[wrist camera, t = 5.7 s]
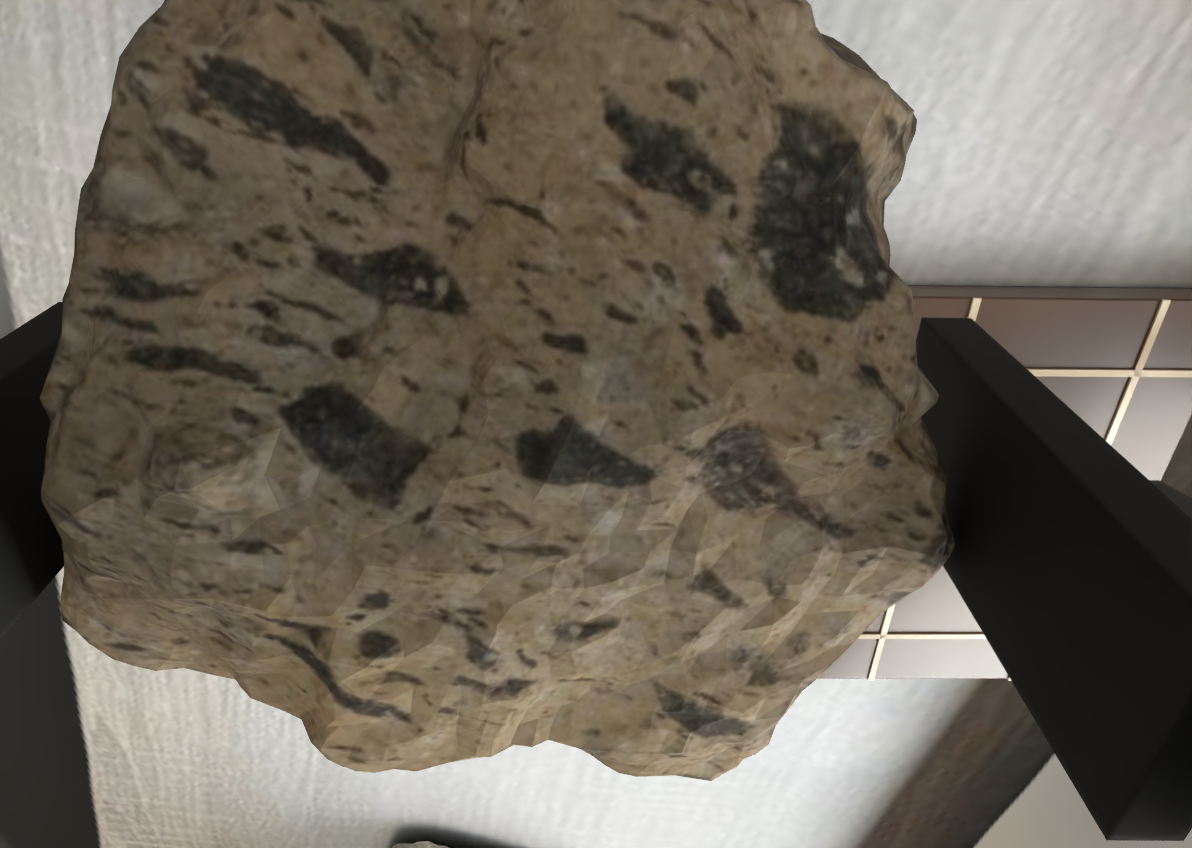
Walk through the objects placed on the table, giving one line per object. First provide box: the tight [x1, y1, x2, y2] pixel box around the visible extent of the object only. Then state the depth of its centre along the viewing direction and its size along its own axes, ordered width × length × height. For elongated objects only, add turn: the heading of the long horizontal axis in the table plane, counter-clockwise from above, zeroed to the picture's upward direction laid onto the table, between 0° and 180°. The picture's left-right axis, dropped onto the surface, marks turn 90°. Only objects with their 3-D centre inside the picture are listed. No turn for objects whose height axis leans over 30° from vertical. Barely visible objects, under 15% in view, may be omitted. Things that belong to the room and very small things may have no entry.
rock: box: [40, 0, 955, 781], centre depth 11 cm, size 11×12×4 cm
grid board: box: [817, 286, 1192, 681], centre depth 34 cm, size 20×20×1 cm
